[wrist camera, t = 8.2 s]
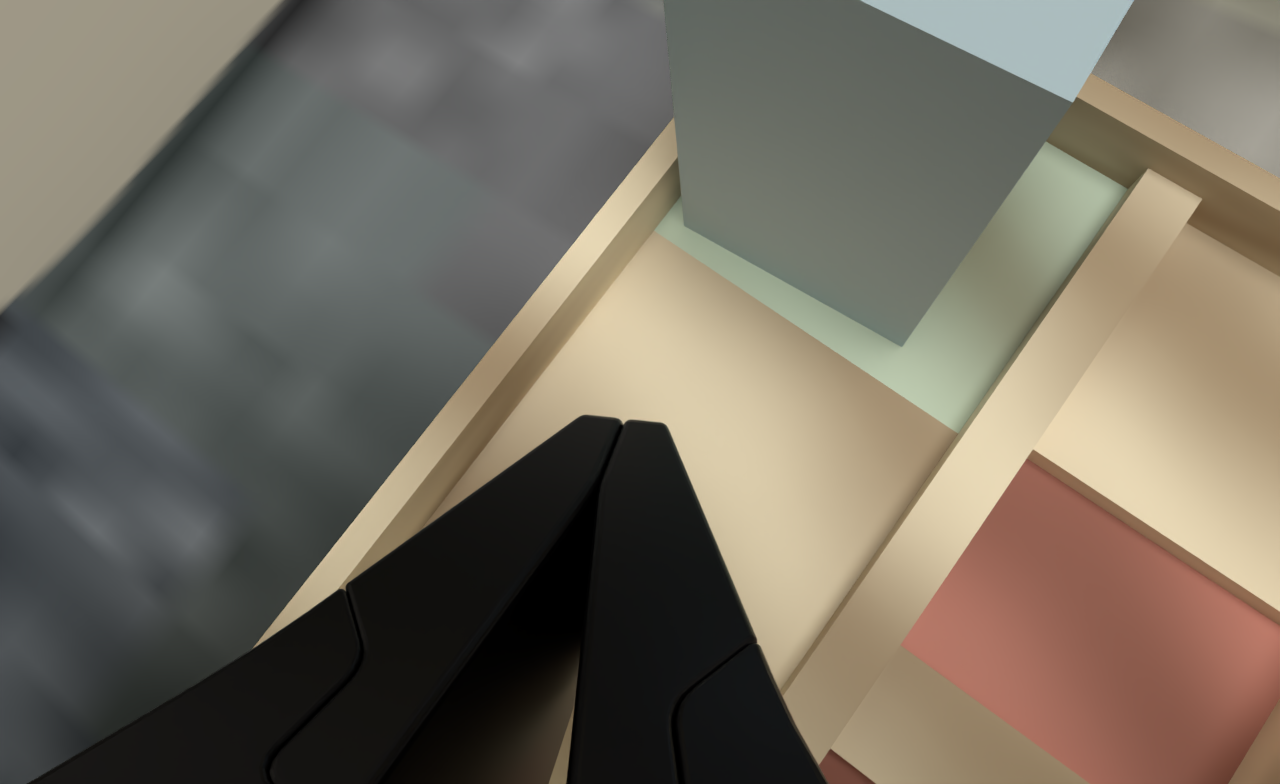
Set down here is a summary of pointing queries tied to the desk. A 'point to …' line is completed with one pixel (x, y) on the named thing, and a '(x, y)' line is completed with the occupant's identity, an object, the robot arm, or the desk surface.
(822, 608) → the wooden divided tray
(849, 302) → the block
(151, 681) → the desk surface
